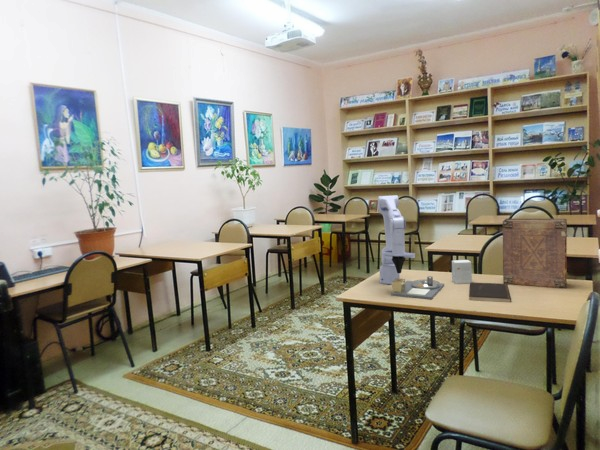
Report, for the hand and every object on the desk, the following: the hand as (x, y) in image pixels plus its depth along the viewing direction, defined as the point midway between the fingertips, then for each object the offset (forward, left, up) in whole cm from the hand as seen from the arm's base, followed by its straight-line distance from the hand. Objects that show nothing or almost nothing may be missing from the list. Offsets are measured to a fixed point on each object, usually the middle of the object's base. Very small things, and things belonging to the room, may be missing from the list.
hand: (399, 272), depth 194 cm
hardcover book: (+36, +12, -10) cm, 40 cm away
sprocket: (+9, +12, -8) cm, 17 cm away
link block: (0, 0, -8) cm, 8 cm away
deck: (+7, +7, -9) cm, 13 cm away
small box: (+22, +28, -10) cm, 37 cm away
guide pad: (+9, 0, -8) cm, 12 cm away
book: (+53, +35, -10) cm, 64 cm away
